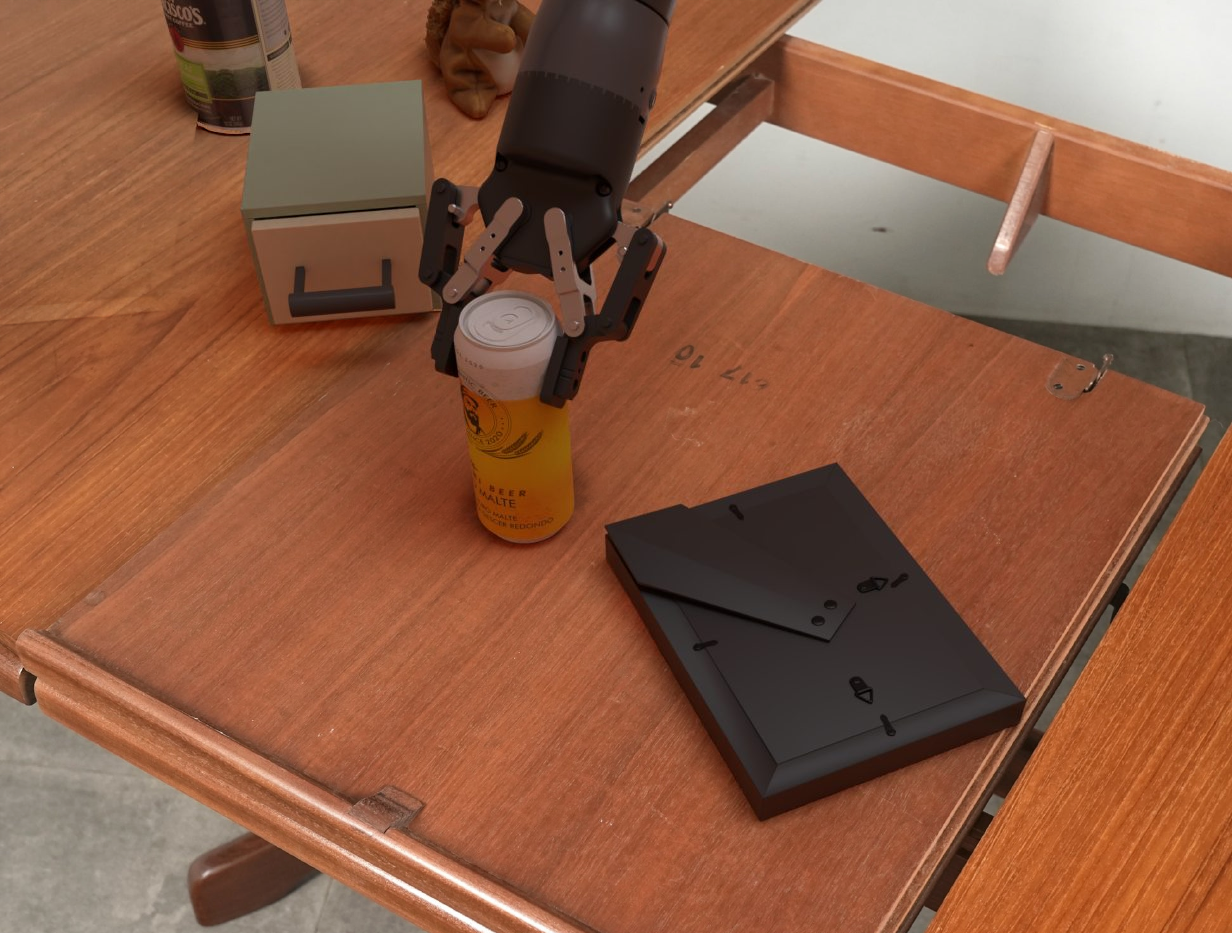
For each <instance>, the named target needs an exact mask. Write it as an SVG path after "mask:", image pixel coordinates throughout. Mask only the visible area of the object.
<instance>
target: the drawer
mask: <svg viewBox="0 0 1232 933" xmlns="http://www.w3.org/2000/svg"><path fill="white" fill-rule="evenodd" d="M265 218H266V220H257V221H252V227H251V232H252V236H253V240H254V244H255V248H256V252H257V256H258V260H259V264H260V268H261V272H262V276H263V280H264V284H265V288H266V292H267V296H268V299H269V303H270V307H271V311H272V315H273V319H274V323H275V324H284V325H286V324H285V323H296V324H298V323H297V322H308V321H319V322H321V321H320V320H331V321H333V320H332V319H343V318H354V319H356V318H355V317H366V318H368V317H367V316H378V315H390V314H401V315H403V314H402V313H413V312H425V311H432V310H433V304H432V295H431V288H430V287H428V286H427V285H425V284H423V283H422V282H421V281H420V280H419V277H418V272H419V265H420V259H421V253H422V246H423V234H422V227H421V220H420V213H419V208H416V205H413V206H400V207H388V208H376V209H363V210H351V211H339V212H326V213H314V214H302V215H289V216H277V217H265ZM425 313H426V312H425ZM413 314H414V313H413ZM390 316H391V315H390ZM378 317H379V316H378ZM343 320H344V319H343ZM308 323H309V322H308Z"/></svg>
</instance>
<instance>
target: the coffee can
mask: <svg viewBox="0 0 1232 933" xmlns="http://www.w3.org/2000/svg"><path fill="white" fill-rule="evenodd" d="M160 3H161V6H162V10H163V14H164V18H165V22H166V25H167V30H168V33H169V36H170V40H171V44H172V48H173V51H174V56H175V59H176V63H177V66H178V70H179V71H178V72H179V74H180V78H181V81H182V85H183V86H182V87H183V89H184V93H185V99H186V102H187V104H188V105H189V107H190V108H191V109H192V110H193V111H194V112H196V113H198V115H197V120H196V122H197V121H198V122H200V123H202V124H204V125H207V126H210V127H213V128H217V129H221V130H231V132H232V131H233V130H234V131H235V132H237V131H240V132H242V131H244V130H246V131H247V130H251V125H252V117H253V109H254V102H255V94H256V92H262V91H275V90H289V89H302V88H303V86H302V82H301V76H300V72H299V66H298V60H297V55H296V51H295V45H294V40H293V35H292V30H291V25H290V20H289V16H288V11H287V5H286V0H160Z"/></svg>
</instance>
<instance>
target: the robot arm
mask: <svg viewBox="0 0 1232 933" xmlns="http://www.w3.org/2000/svg"><path fill="white" fill-rule="evenodd" d="M678 1H679V0H541V2H540V4H539V7H538V9H537V11H536V14H535V15H536V16H535V18H534V21H533V23H532V25H531V28H530V31H529V34H528V37H527V41H526V44H525V48H524V52H523V55H522V59H521V62H520V66H519V69H518V73H517V76H516V80H515V83H514V87H513V90H512V91H511V94H510V98H509V101H508V104H507V108H506V112H505V116H504V119H503V123H502V125H501V130H500V133H499V137H498V140H497V144H496V148H495V159H494V164H493V168H492V170H491V172H490V173H489V175H488V177H487V178H486V179H485V180H484V181H483V183H482V184H481V185H480V186H471V185H459V184H458V185H457V184H455V183H454V182H452V181H450V180H449V179H447V178H446V177H439V178H437V179H435V182H434V183H433V185H432V189H431V196H430V202H429V208H428V215H427V221H426V227H425V234H424V240H423V246H422V253H421V259H420V265H419V272H418V277H419V280H420V281H421V282H422V283H423V284H425V285H427V286H428V287H430V288H431V289H432V290H433V291H435V292H436V293H437V294H438V295H439V296H440V297H441V299H442V311H440V315H439V318H438V322H437V326H436V329H435V333H434V336H433V340H432V343H431V347H430V356H431V357H430V358H431V359H432V360H434V370H435V372H437V373H440V374H443V375H446V376H449V377H452V378H456V379H459V374H458V367H457V360H456V353H455V345H454V333H455V330H456V328H457V326H458V323H459V317H460V314H461V312H462V310H463V309H464V308H465V306H466V305H468V304H469V303H470V302H471V301H473V300H474V299H476V298H478V297H480V296H482V295H485V294H488V293H491V292H493V290H494V289H495V288H496V287H498V286H501V285H502V284H504V283H505V281H507V279H508V278H509V277H510V275H511V274H512V273H513V272H516V273H520V274H524V275H541V276H542V277H544V278H546V279H547V280H549V281H551V282H553V285H554V290H555V293H556V295H557V296H558V299H559V306H560V312H561V318H562V327H563V334H564V335H563V337H561V336H557V338H556V341H555V345H554V348H553V352H552V355H551V358H550V362H549V365H548V369H547V372H546V376H545V379H544V383H543V386H542V389H541V393H540V402H541V403H544V404H546V405H549V406H552V407H556V408H559V409H562V408H563V407H564V405H565V403H566V400H568V401H570V402H572V401H574V399H575V398H576V397H577V395H578V394H579V391H580V388H581V383H582V380H583V376H584V374H585V370H586V367H587V364H588V360H589V358H590V353H591V350H592V349H593V347H594V346H595V345H597V344H598V343H603V342H610V341H615V342H617V343H618V342H619V343H622V342H626V341H627V340H628V339H629V338H630V337H631V335H632V333H633V330H634V329H635V326H636V324H637V322H638V319H639V317H640V314H641V312H642V311H643V310H642V309H643V307H644V304H645V303H646V301H647V298H648V296H649V293H650V291H651V289H652V287H653V285H654V282H655V280H656V277H657V275H658V272H659V271H660V268H661V266H662V264H663V261H664V259H665V257H666V254H667V251H668V250H667V249H668V248H667V244H666V242H665V241H664V240H662V238H661V237H660V236H659V235H658V234H657V233H655V231H652V230H651V229H650V228H648V227H640V228H637V227H634V226H632V225H630V224H628V223H625V222H624V219H623V213H622V208H623V207H622V205H623V202H624V198H625V197H626V194H627V192H628V189H629V185H630V182H631V179H632V175H633V171H634V168H635V164H636V161H637V158H638V155H639V152H640V147H641V144H642V141H643V137H644V135H645V130H646V127H647V125H648V121H649V117H650V114H651V112H652V110H653V109H654V107H655V104H656V100H657V96H658V95H657V94H658V91H657V90H658V86H659V83H660V79H661V75H662V71H663V65H664V59H665V52H666V46H667V40H668V36H669V33H670V28H671V25H672V21H673V18H674V15H675V11H676V7H677V5H678ZM478 211H479V212H480V214H481V218H482V221H483V224H484V227H485V229H484V230H483V232H482V233H481V234H480V236H479V237H478V238H477V239H476V240H475V241H474V243H473V244H472V245H471V246H470V248H469V249H468V250H467V252H465V254H464V256H463V262H462V264H461V266H460V263H461V262H460V260H461V255H462V248H463V241H464V237H465V230H466V227H467V226H469V225H470V224H471V223H473V221H474V216H475V214H476V213H477V212H478ZM615 244H617V251H616V260H617V261H618V263H619V264H620V265H619V267H618V269H617V271H616V274H615V276H614V278H613V281H612V283H611V286H610V287H609V288H610V289H609V291H608V293H607V295H606V298H605V300H604V302H603V304H602V306H601V309H600V311H599V313H597V306H596V302H597V300H598V299H597V298H598V297H597V288H596V287H597V286H596V280H595V273H594V268H593V263H594V262H595V261H596V260H598V259H599V258H600V257H601V256H602V255H604V254H605V253H606V252H607V251H608V250H610V248H612V247H613V246H614V245H615Z"/></svg>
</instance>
